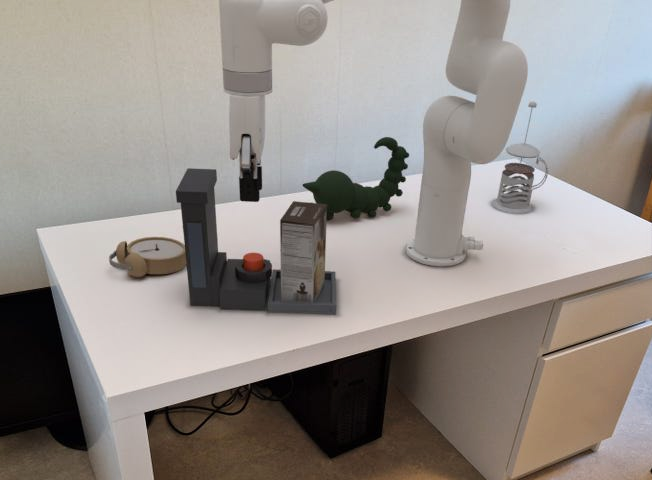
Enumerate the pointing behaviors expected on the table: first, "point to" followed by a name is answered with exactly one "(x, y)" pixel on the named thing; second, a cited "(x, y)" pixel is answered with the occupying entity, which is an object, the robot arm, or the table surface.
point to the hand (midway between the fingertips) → (251, 193)
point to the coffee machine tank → (201, 236)
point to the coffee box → (303, 251)
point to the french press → (518, 178)
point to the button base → (244, 286)
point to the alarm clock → (150, 256)
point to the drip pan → (321, 306)
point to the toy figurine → (361, 187)
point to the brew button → (253, 261)
